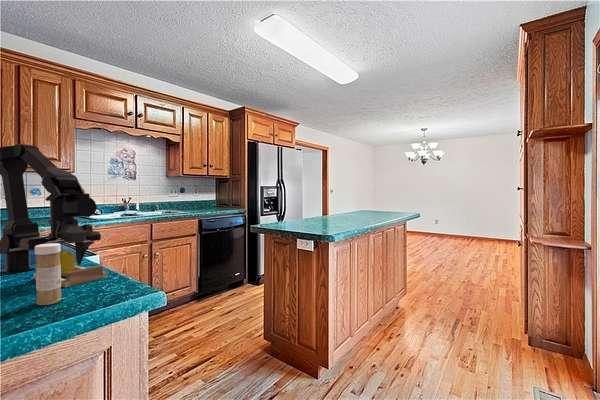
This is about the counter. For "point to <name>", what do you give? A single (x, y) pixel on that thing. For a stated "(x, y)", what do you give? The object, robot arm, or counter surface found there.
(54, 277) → the sprinkles bottle
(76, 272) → the channel
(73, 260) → the lemon
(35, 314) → the counter surface
